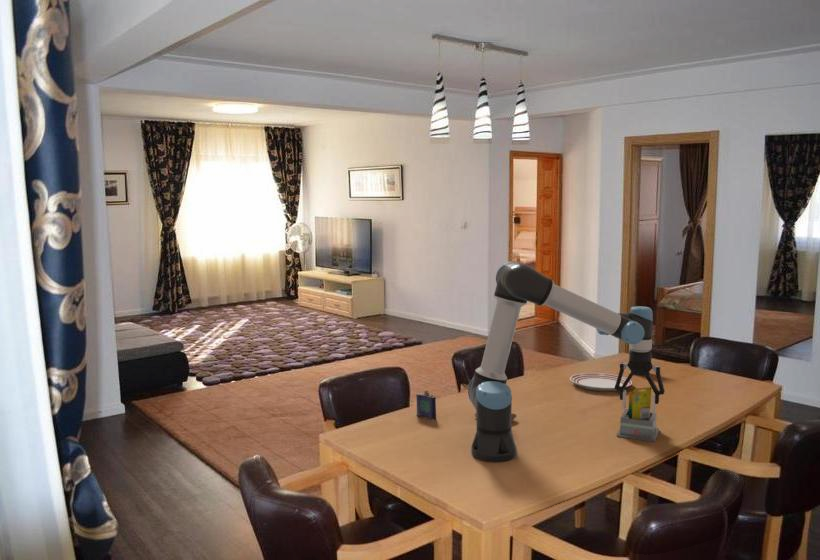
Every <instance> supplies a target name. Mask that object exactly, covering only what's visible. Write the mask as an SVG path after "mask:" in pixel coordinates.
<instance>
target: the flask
mask: <svg viewBox="0 0 820 560" xmlns="http://www.w3.org/2000/svg"><path fill="white" fill-rule="evenodd" d="M415 395H416V396H415V397H416V416H417V417H422V418H424V417H426V419H429V420H433V419H435V420H436V419H437V407H436V406H437V403H436V401H437V400H436V399H437V398H436V396H435V395H433V394H430V392H429V390H424V391H423V392H421V393H420V392H417V393H416V394H415Z"/></svg>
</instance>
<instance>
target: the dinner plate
mask: <svg viewBox="0 0 820 560" xmlns="http://www.w3.org/2000/svg"><path fill="white" fill-rule="evenodd" d="M618 375H619V374H618ZM618 375H617V374H612V373H611V374H610V373H603V372H602V373H601V372H583V373H581V372H580V373H576V374H572V375H571V376H570V377H569V380H570V381H571V382H572V383H573V384H574V385H577V386H579V387H581V388H583V389H586V390H590V391H597V392H615V391H618V390H617V389H615V385H616V381H617V378H618ZM626 379H627V377H625V376H622V379H621V382H620V385H619V386H621V387H622V385H623V384H624V382H625V380H626ZM632 381H633V380H632V379H630V381H629V382H628V384H627V385H626V387H625V389H626V388H628V387H630V386H631V385H632V384H633V382H632Z"/></svg>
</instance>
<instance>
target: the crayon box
mask: <svg viewBox="0 0 820 560" xmlns="http://www.w3.org/2000/svg"><path fill="white" fill-rule="evenodd" d="M651 403H652V388H651V386H650V387H640V388H639V387H638V388H633V389H632V391H629V393H628V408H627V409H628V417H629V418H635V419H643V418H650V412H651Z"/></svg>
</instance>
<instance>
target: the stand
mask: <svg viewBox="0 0 820 560" xmlns="http://www.w3.org/2000/svg"><path fill="white" fill-rule="evenodd" d="M657 417H658V416H657V412H655V414H654V413H652V411H650V418H643V419H635V418H629V417H628V408H625V410H624V411H623V413H622V414H621V416H620V420H619V421H620V422H619V425H620V426H619V429H618V431H617V433H616V437H617V438H625V439H633V440H637V441H638V440H640V441H646V442H653V443H656V440H657V438H658V435H659V432H660V428H659V427H657Z"/></svg>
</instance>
